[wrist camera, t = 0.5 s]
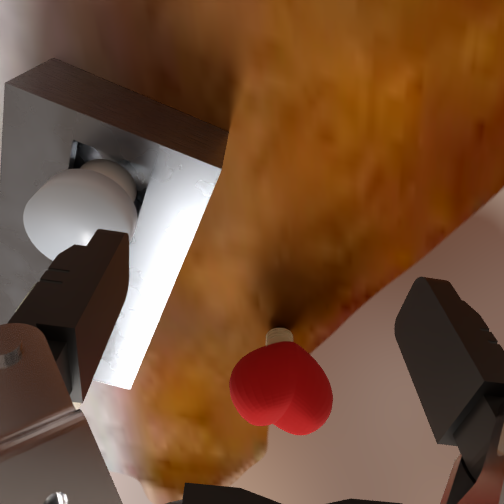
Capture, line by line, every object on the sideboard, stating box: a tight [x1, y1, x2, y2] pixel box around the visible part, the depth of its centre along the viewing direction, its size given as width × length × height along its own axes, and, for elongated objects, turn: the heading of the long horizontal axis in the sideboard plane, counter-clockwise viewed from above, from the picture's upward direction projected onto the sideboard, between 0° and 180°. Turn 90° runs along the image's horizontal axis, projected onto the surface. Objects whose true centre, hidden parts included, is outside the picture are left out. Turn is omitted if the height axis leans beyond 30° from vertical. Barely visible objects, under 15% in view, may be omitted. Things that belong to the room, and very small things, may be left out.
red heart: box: [229, 328, 333, 435], centre depth 36 cm, size 9×7×10 cm
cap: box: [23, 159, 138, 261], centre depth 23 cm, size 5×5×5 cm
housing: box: [0, 58, 229, 390], centre depth 31 cm, size 24×12×6 cm, turn 157°
